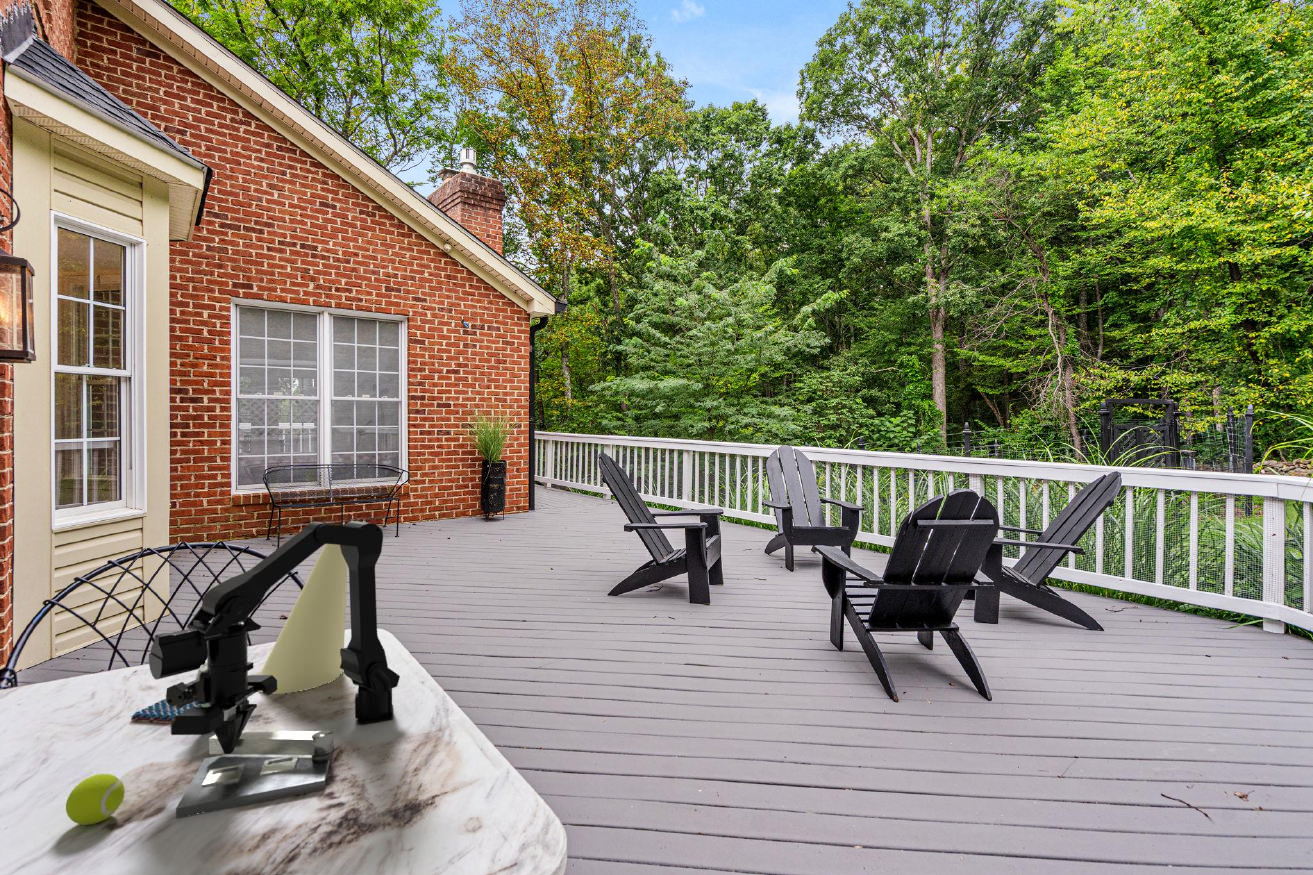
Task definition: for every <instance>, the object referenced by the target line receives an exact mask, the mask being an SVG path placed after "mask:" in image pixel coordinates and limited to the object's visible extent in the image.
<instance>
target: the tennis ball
mask: <svg viewBox="0 0 1313 875" xmlns="http://www.w3.org/2000/svg"><path fill="white" fill-rule="evenodd" d="M124 798H125V786H124V783H123V782H122V780H121V779H119V778H118V777H117V776H116V775H113V774H111V773H110V774H109V773H99V774H98V773H97V774H95V775H91V776H89V777H87V778H86V779H83V780H82V781H80V782H79V783H78V784H77V785H76V786H75V787H74V788H73V789H72V790H71V791H70V793H69V796H68V797H67V800H66V804H65V811H66V814H67V816H68V818H69V819H70V820H71V821H73V823H76V824H78V825H82V826H83V825H84V826H89V825H95V824H98V823H101V822H103V821H105V820H106V819H109V818H110V817H112V815H113V814H114V813H115V812H116V811H117V810H118V809H119V808H120V806H121V804H122V803H123V800H124Z"/></svg>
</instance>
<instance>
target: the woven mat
mask: <svg viewBox="0 0 1313 875" xmlns="http://www.w3.org/2000/svg"><path fill="white" fill-rule="evenodd" d="M191 707H202V704H197V701H195V702H192V703H190V704H187V705H184V706H183V707H182V708H180V709H177V708H176V705H175V706H173V707H171V706H169V705H168V703H167V702H166V698H164V699H161V700H160V701H157V702H155V703H154V704H152V705H148V706H147V707H144V708H143V709H141V710H138V711H136V712H135V713H134V714H133V715H131V717H130V718H131V721H132V722H142V723H143V722H145V723H147V722H148V723H163V724H165V723H166V724H171V721H172V720H173V719H174V718H175V717H176V716H177V715H179V714H181V713H182V712H184V711H186V710H188V709H189V708H191Z"/></svg>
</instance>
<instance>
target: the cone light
mask: <svg viewBox="0 0 1313 875" xmlns="http://www.w3.org/2000/svg"><path fill="white" fill-rule="evenodd" d="M348 571H349V568H348V565H347V563H346V561H345V559H344V557H343V555H342V553H341V548H340V545H335V544H325V545H323V548H322V550H321V552H320V554H319V557H318V558H317V559H316V562H315V564H314V566H313V568H312V570H311V572H310V574H309V576H308V577H307V579H306V582H305V583H304V586H303V587H302V589H301V591H300V593H299V596H298V598H297V599H296V601H295V603H294V606H293V608H292V610H291V612H290V614H289V615H288V617H287V619H286V621H285V623H284V625H283V627H282V629H281V631H280V633H279V636H278V637H277V639H276V641H275V643H274V645H273V647H272V649H271V650H270V651H271V652H270V653H269V655H268V657H267V659H266V661H265V662H264V665H263V667H262V669H261V671H260V672H259V675H273V676H274V677H275V678H276V679H277V691H275V692H273V693H272V694H271V695H285V693H287V694H291V693H290V692H295V693H298V692H297V691H300V690H305V689H308V688H313V687H316V686H320V685H323V684H325V683H328V682H330V681H332V680H334V679H336V678H337V677H338V676H340V674H341V673H342V671H343V669H341V668H340V665H341V655H340V649H341V648H345V634H346V633H345V632H346V614H347V613H346V612H347V611H346V609H347V591H348V590H347V588H348V585H347V584H348ZM343 672H344V671H343ZM342 674H343V673H342ZM340 677H341V676H340ZM337 679H338V678H337ZM337 679H336V680H337ZM334 681H335V680H334ZM332 682H333V681H332ZM330 683H331V682H330ZM328 684H329V683H328ZM323 686H324V685H323ZM261 692H263V691H259V693H261Z"/></svg>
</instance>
